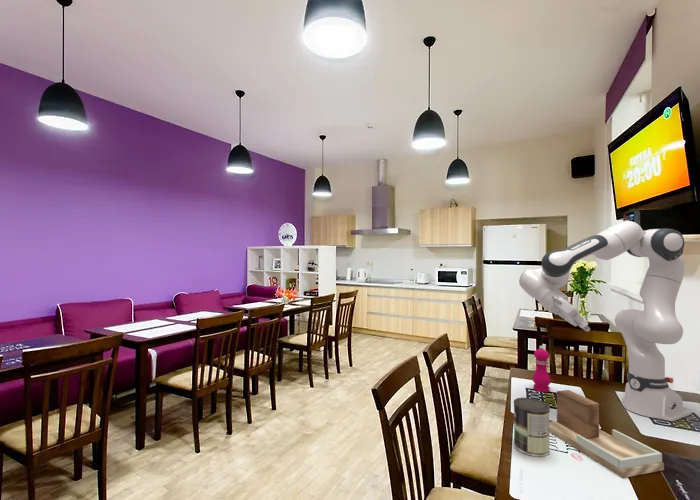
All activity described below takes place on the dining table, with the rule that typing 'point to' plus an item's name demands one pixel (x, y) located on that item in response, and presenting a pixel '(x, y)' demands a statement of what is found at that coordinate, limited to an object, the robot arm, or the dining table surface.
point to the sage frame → (624, 463)
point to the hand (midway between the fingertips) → (587, 327)
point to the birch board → (610, 446)
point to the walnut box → (578, 414)
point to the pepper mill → (541, 370)
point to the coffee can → (531, 426)
